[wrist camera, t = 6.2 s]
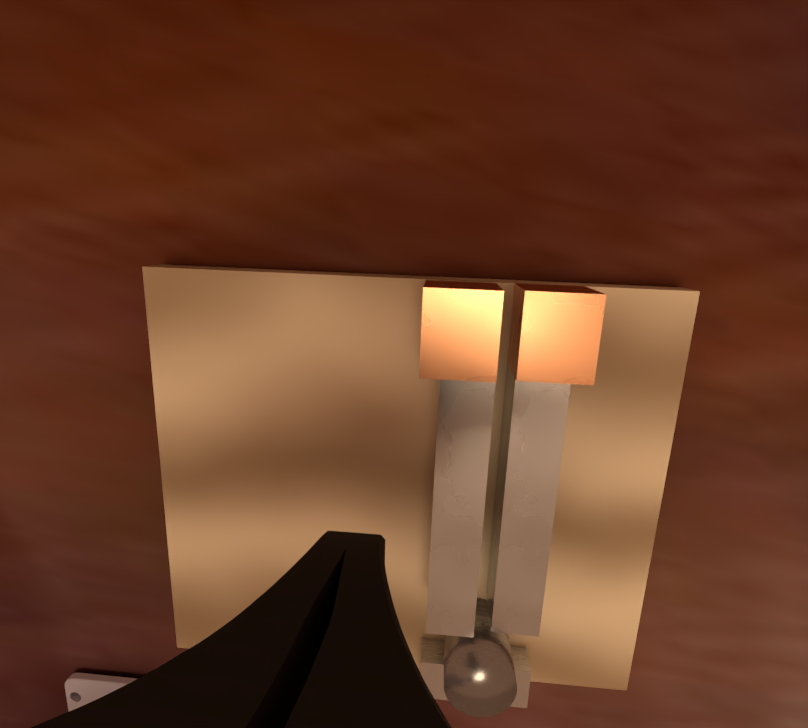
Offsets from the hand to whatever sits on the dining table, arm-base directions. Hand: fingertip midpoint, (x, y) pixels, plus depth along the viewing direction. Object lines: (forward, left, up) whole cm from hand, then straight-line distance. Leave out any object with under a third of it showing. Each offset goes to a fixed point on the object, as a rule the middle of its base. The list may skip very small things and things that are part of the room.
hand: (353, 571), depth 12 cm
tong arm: (0, -2, -6) cm, 7 cm away
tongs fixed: (-2, -4, -7) cm, 8 cm away
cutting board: (-2, -1, -8) cm, 8 cm away
